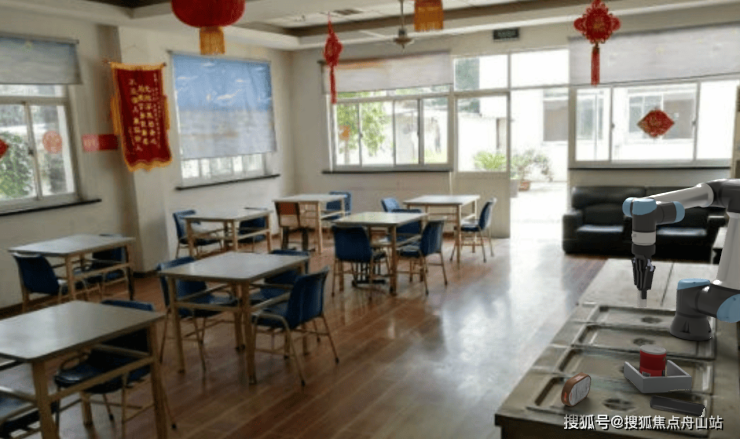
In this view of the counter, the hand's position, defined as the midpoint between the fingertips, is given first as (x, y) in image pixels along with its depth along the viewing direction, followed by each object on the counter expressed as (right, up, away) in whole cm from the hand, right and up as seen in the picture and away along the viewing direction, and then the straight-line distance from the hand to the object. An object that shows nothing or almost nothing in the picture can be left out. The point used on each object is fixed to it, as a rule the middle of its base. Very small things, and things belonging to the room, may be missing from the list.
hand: (641, 306), depth 214 cm
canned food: (-2, -23, -12) cm, 26 cm away
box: (-2, -23, -15) cm, 28 cm away
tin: (-33, -26, -26) cm, 49 cm away
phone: (-3, -27, -31) cm, 41 cm away
